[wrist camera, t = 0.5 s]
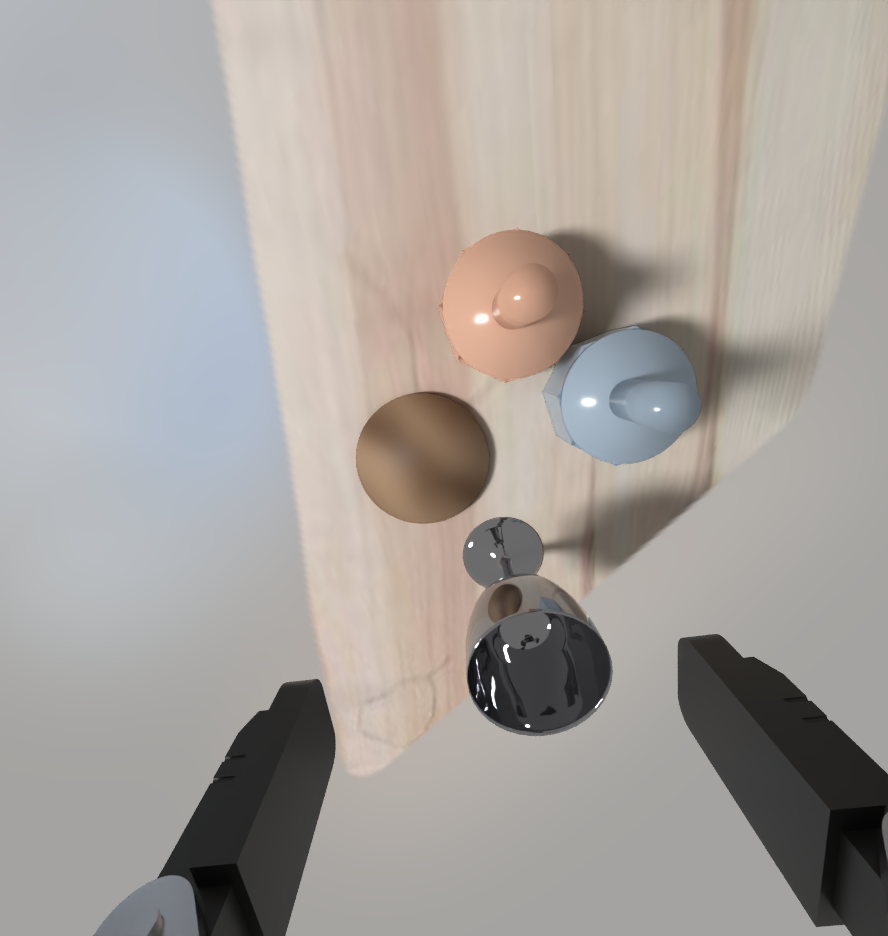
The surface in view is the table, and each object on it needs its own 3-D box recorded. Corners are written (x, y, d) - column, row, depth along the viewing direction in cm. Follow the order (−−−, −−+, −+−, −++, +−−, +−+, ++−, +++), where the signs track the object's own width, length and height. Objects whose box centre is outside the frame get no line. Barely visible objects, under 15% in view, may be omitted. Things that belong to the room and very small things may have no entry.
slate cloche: (580, 314, 33) (647, 290, 22) (681, 365, 33) (794, 366, 23) (525, 421, 35) (562, 448, 24) (622, 467, 35) (700, 512, 25)
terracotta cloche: (474, 228, 31) (490, 157, 20) (583, 284, 32) (654, 244, 21) (424, 346, 33) (414, 338, 22) (528, 395, 34) (566, 410, 23)
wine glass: (564, 564, 38) (639, 691, 23) (490, 610, 39) (517, 758, 24) (516, 495, 36) (564, 585, 22) (440, 544, 37) (437, 661, 23)
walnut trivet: (387, 370, 34) (386, 370, 33) (511, 427, 35) (512, 428, 34) (338, 490, 36) (336, 492, 35) (454, 540, 37) (454, 542, 37)
